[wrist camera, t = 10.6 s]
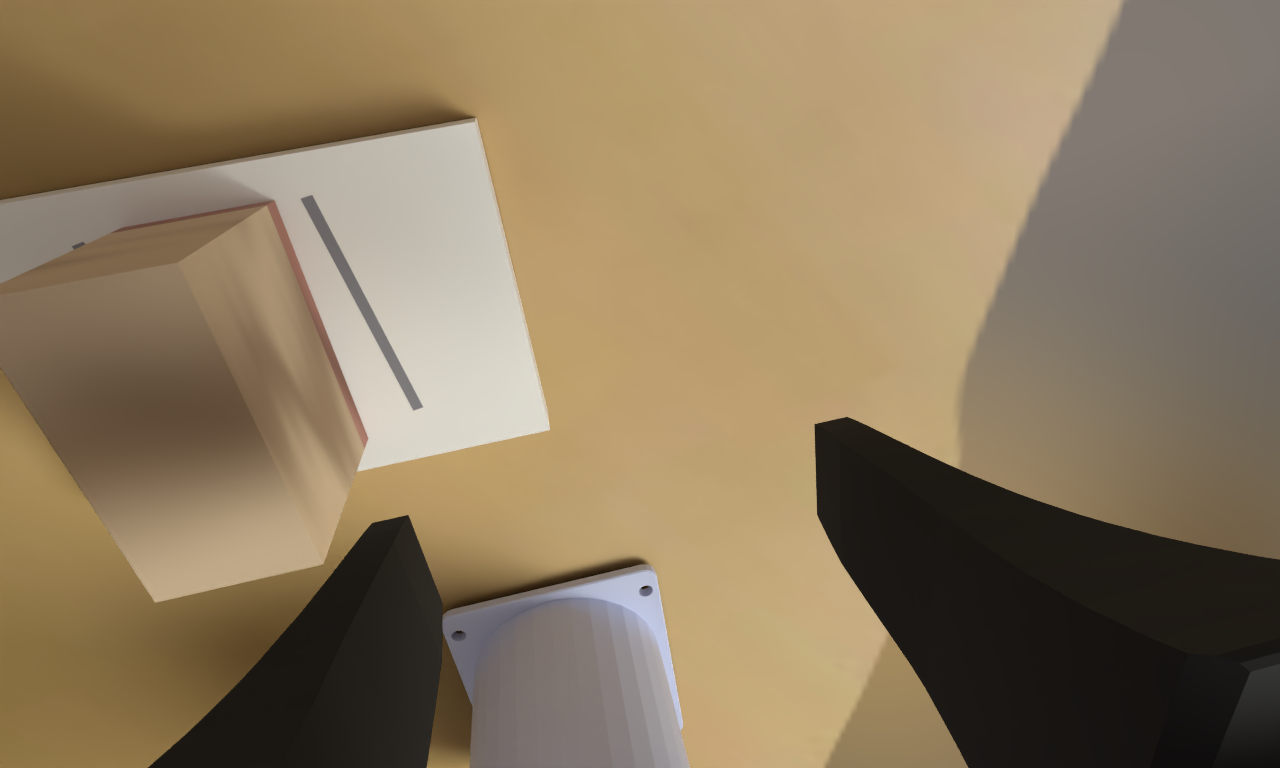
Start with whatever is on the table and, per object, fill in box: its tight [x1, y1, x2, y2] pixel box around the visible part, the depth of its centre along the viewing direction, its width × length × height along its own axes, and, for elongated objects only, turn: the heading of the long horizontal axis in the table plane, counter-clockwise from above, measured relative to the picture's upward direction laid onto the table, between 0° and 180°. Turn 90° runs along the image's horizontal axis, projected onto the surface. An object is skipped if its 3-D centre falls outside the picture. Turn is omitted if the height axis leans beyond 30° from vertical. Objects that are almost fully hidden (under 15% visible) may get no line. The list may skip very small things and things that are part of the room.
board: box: [0, 118, 550, 472], centre depth 19 cm, size 9×13×1 cm
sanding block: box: [0, 200, 368, 603], centre depth 16 cm, size 7×4×6 cm, turn 8°
